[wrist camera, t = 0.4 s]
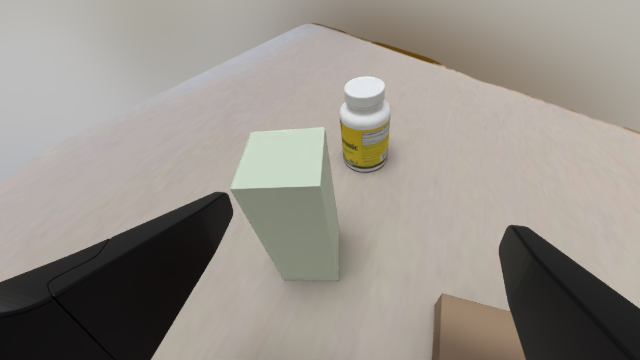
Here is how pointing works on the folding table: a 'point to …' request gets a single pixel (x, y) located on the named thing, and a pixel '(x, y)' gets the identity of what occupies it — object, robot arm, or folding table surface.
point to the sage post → (291, 201)
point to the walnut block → (473, 332)
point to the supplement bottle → (365, 124)
